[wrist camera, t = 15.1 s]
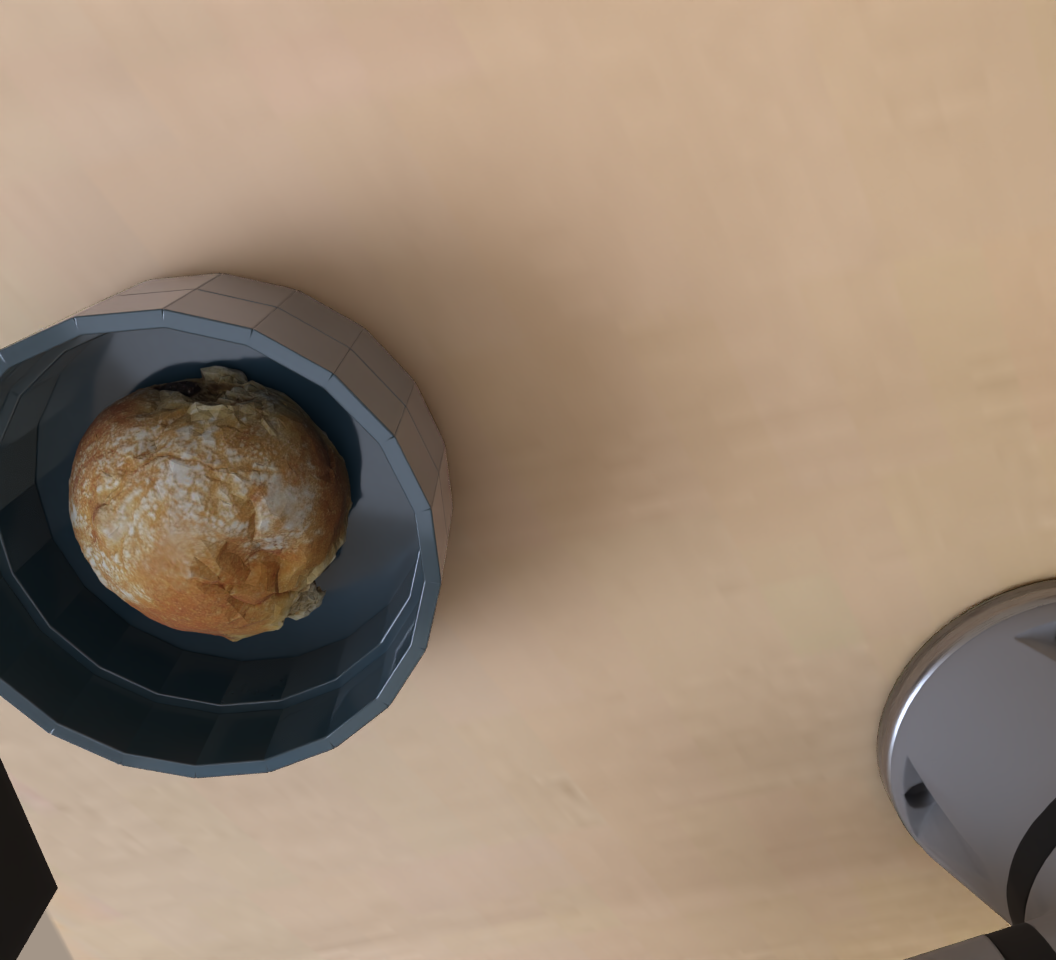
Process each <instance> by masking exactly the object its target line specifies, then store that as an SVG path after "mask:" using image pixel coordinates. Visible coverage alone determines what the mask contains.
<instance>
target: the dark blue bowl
mask: <svg viewBox="0 0 1056 960" xmlns="http://www.w3.org/2000/svg"><path fill="white" fill-rule="evenodd" d="M211 366H222V367H227V368H231V369H236V370H240V371H242V372H243V373H244V374H245V375H246V377H247V380H248V382H250V381H255V382H257V383H259V384H261V385H263V386H265V387H268V388H272V389H275V390H277V391H280V392H282V393H285V394H286V395H287V396H288V397H290V398H291V399H292V400H293V401H294V402H296V403H297V404H298V405H299V406H300V407H301V408H302V409H303V410H304V411H305V412H306V413H307V414H308V416H309V417H310V418H311V420H312V421H313V422H314V423H315V424H316V425H317V426H318V427H319V428H320V429H321V430H322V431H324V432H326V434H327V436H328V439H329V440H330V441H331V442H332V444H333V445H334V446H335V448H336V450H337V451H338V453H339V454H340V455H341V456H342V457H343V459H344V461H345V465H346V469H347V472H348V477H349V483H350V491H351V501H352V503H353V504H352V506H351V508H350V510H349V514H348V526H347V529H346V541H345V542H344V544H343V545H342V546H341V547H340V548H339V549H338V550H337V552H336V557H335V559H334V560H333V561H332V562H331V563H330V566H329V567H328V569H327V570H326V571H324V572H322V573H321V575H320V576H319V577H317V578H316V579H315V582H316V587H319V586H320V588H321V590H322V591H324V590H326V593H325V596H324V598H323V599H322V604H321V605H320V606H319V607H318V608H316V609H315V610H313V611H312V612H311V613H310V614H309V615H308V616H306V617H304V618H301V619H299V620H294V619H292V618H289V617H288V618H285V620H284V624H283V626H282V627H281V628H280V629H278V630H275V631H267V632H263V633H259V634H256V635H253V636H250V637H247V638H243V639H241V640H239V641H237V642H232V641H230V640H229V639H227V638H225V637H223V636H215V635H212V634H206V633H198V632H190V631H181V630H176V629H173V628H171V627H168V626H166V625H163V624H161V623H158V622H156V621H154V620H152V619H150V618H148V617H147V616H145V615H144V614H143V613H141V612H140V611H138V610H137V609H135V608H133V607H132V606H130V605H129V604H128V603H127V602H125V601H124V600H122V599H121V598H120V597H119V596H118V595H117V594H115V593H114V592H112V591H111V590H109V589H108V588H106V587H105V586H104V585H103V584H102V583H101V582H100V580H99V578H98V576H97V575H96V573H95V572H94V570H93V569H92V567H91V565H90V563H89V562H88V561H87V559H86V558H85V557H84V554H83V552H82V551H81V547H80V545H79V543H78V541H77V539H76V538H75V534H74V530H73V526H72V522H71V519H70V514H69V479H70V476H71V471H72V464H73V461H74V457H75V454H76V450H77V448H78V445H79V443H80V441H81V439H82V437H83V436H84V434H85V432H86V430H87V429H88V428H89V426H90V425H91V424H92V422H93V421H94V419H95V418H96V417H97V416H98V415H99V414H100V413H101V412H102V411H103V410H104V409H105V408H106V407H108V406H109V405H111V404H112V403H114V402H116V401H117V400H119V399H121V398H124V397H125V396H127V395H129V394H131V393H133V392H135V391H136V390H138V389H140V388H147V387H150V386H153V385H160V384H165V383H171V382H176V381H181V380H185V379H200V378H202V374H201V370H200V369H201V368H206V367H211ZM452 512H453V502H452V494H451V486H450V478H449V471H448V463H447V455H446V447H445V444H444V440H443V438H442V436H441V434H440V432H439V430H438V428H437V426H436V424H435V422H434V420H433V418H432V415H431V413H430V411H429V409H428V407H427V405H426V403H425V401H424V399H423V397H422V395H421V393H420V391H419V389H418V387H417V385H416V383H415V382H414V380H413V379H412V377H411V376H410V375H409V374H408V373H407V372H406V371H405V370H404V369H403V368H402V367H401V366H400V365H399V364H398V363H397V362H396V361H395V360H394V358H393V357H392V356H391V355H390V354H389V353H388V352H387V351H386V350H385V349H384V348H383V347H382V346H381V345H380V344H379V343H378V342H377V341H376V339H375V338H374V337H373V336H372V335H371V334H370V333H369V332H368V331H367V330H366V329H365V328H363V327H362V326H361V325H359V324H357V323H355V322H354V321H352V320H350V319H348V318H346V317H345V316H343V315H341V314H339V313H338V312H336V311H334V310H332V309H331V308H329V307H327V306H325V305H324V304H322V303H320V302H318V301H317V300H315V299H313V298H311V297H310V296H308V295H306V294H304V293H303V292H301V291H299V290H297V291H296V290H295V289H292V288H287V287H283V286H278V285H274V284H269V283H265V282H260V281H256V280H252V279H247V278H243V277H238V276H234V275H229V274H221V273H215V274H204V275H193V276H182V277H171V278H160V279H150V280H148V281H144V282H141V283H139V284H137V285H135V286H133V287H130V288H128V289H126V290H124V291H122V292H119V293H117V294H115V295H113V296H111V297H108V298H106V299H104V300H102V301H100V302H97V303H95V304H93V305H91V306H89V307H86V308H84V309H82V310H80V311H78V312H76V313H74V314H72V315H70V316H68V317H66V318H64V319H62V320H60V321H58V322H56V323H54V324H52V325H50V326H48V327H45V328H43V329H41V330H39V331H37V332H35V333H33V334H31V335H29V336H27V337H25V338H23V339H21V340H19V341H17V342H15V343H13V344H11V345H8V346H6V347H4V348H2V349H0V696H2V697H3V698H4V699H5V700H7V701H8V702H9V703H11V704H12V705H13V706H14V707H16V708H17V709H18V710H19V711H21V712H22V713H23V714H25V715H26V716H27V717H28V718H30V719H31V720H32V721H34V722H35V723H36V724H37V725H39V726H40V727H41V728H43V729H44V730H45V731H46V732H48V733H51V734H52V735H54V736H56V737H58V738H61V739H63V740H65V741H67V742H70V743H72V744H74V745H76V746H79V747H81V748H83V749H85V750H88V751H90V752H92V753H95V754H97V755H99V756H101V757H104V758H106V759H108V760H110V761H113V762H115V763H117V764H121V765H122V766H128V767H133V768H139V769H145V770H151V771H156V772H162V773H168V774H173V775H179V776H185V777H191V778H206V777H219V776H231V775H244V774H257V773H268V772H272V771H275V770H277V769H280V768H283V767H286V766H288V765H291V764H294V763H296V762H299V761H302V760H305V759H307V758H310V757H313V756H316V755H318V754H321V753H324V752H326V751H329V750H332V749H334V748H335V747H338V746H339V745H340V744H341V743H343V742H344V741H345V740H347V739H348V738H349V737H350V736H352V735H353V734H354V733H356V732H357V731H358V730H360V729H361V728H362V727H363V726H365V725H366V724H367V723H369V722H370V721H371V720H373V719H374V718H375V717H376V716H378V715H379V714H380V713H382V712H383V711H384V710H385V709H387V708H388V707H389V706H390V705H391V704H392V702H393V701H394V699H395V697H396V696H397V694H398V693H399V691H400V690H401V688H402V687H403V685H404V684H405V682H406V681H407V679H408V677H409V676H410V674H411V673H412V671H413V670H414V668H415V667H416V665H417V664H418V662H419V661H420V659H421V657H422V656H423V654H424V653H425V651H426V648H427V646H428V641H429V637H430V632H431V628H432V623H433V619H434V614H435V610H436V605H437V601H438V596H439V592H440V587H441V583H442V576H443V570H444V563H445V557H446V551H447V544H448V538H449V531H450V525H451V518H452Z"/></svg>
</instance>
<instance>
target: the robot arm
mask: <svg viewBox="0 0 1056 960" xmlns="http://www.w3.org/2000/svg"><path fill="white" fill-rule="evenodd" d="M877 759H878V767H879V772H880V777H881V779H882V782H883V785H884V788H885V790H886V792H887V795H888V797H889V799H890V801H891V803H892V804H893V806H894V808H895V810H896V812H897V814H898V816H899V818H900V819H901V821H902V823H903V825H904V826H905V828H906V829H907V831H908V832H909V834H910V835H911V836H912V837H913V839H914V840H915V841H916V842H917V843H918V844H919V845H920V846H921V847H922V848H923V849H924V851H925V852H926V853H927V854H928V855H929V856H930V857H931V858H932V859H934V860H935V861H936V862H937V863H938V864H939V865H941V866H942V867H943V868H944V869H945V870H947V871H948V872H949V873H950V874H951V875H952V876H954V877H955V878H956V879H957V880H958V881H960V882H961V883H962V884H963V885H964V886H965V887H967V888H968V889H969V890H970V891H971V892H972V893H974V894H975V895H976V896H977V897H978V898H980V899H981V900H982V901H983V902H984V903H985V904H987V905H988V906H989V907H990V908H991V909H993V910H994V911H995V912H996V913H997V914H998V915H1000V916H1001V917H1002V918H1003V919H1004V920H1006V921H1007V922H1008V923H1009V924H1010V925H1011V927H1008V928H1005V929H1002V930H999V931H995V932H992V933H989V934H985V935H980V936H977V937H974V938H970V939H967V940H964V941H961V942H958V943H955V944H952V945H948V946H945V947H942V948H939V949H936V950H933V951H930V952H927V953H923V954H920V955H917V956H914V957H911V958H908V959H905V960H1056V579H1055V580H1049V581H1044V582H1038V583H1035V584H1031V585H1027V586H1023V587H1020V588H1017V589H1014V590H1011V591H1008V592H1005V593H1003V594H1000V595H998V596H996V597H994V598H991V599H989V600H987V601H985V602H983V603H981V604H979V605H977V606H975V607H974V608H972V609H970V610H968V611H967V612H965V613H964V614H962V615H961V616H959V617H957V618H956V619H954V620H953V621H952V622H950V623H949V624H948V625H946V626H945V627H944V628H942V629H941V630H940V631H939V632H938V633H937V634H936V635H934V636H933V637H932V638H931V639H930V640H929V641H928V642H927V643H926V644H925V645H924V646H923V647H922V648H921V649H920V650H919V651H918V652H917V653H916V654H915V656H914V657H913V658H912V659H911V661H910V662H909V663H908V665H907V666H906V667H905V669H904V670H903V672H902V673H901V675H900V676H899V678H898V679H897V681H896V683H895V685H894V687H893V689H892V690H891V692H890V694H889V697H888V699H887V702H886V704H885V707H884V709H883V713H882V716H881V720H880V724H879V730H878V736H877ZM57 888H58V887H57V885H56V883H55V880H54V878H53V876H52V874H51V871H50V869H49V867H48V865H47V862H46V860H45V858H44V856H43V853H42V851H41V849H40V847H39V844H38V842H37V840H36V838H35V835H34V833H33V831H32V829H31V826H30V824H29V822H28V819H27V817H26V815H25V813H24V810H23V808H22V806H21V804H20V801H19V799H18V797H17V795H16V792H15V790H14V788H13V786H12V783H11V781H10V779H9V777H8V774H7V772H6V770H5V768H4V765H3V763H2V761H1V759H0V960H16V959H17V957H18V956H19V954H20V952H21V950H22V948H23V947H24V945H25V944H26V942H27V940H28V938H29V936H30V935H31V933H32V931H33V930H34V928H35V926H36V925H37V923H38V921H39V919H40V918H41V916H42V914H43V912H44V911H45V909H46V907H47V906H48V904H49V902H50V901H51V899H52V897H53V895H54V894H55V892H56V890H57Z"/></svg>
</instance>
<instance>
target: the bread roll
mask: <svg viewBox="0 0 1056 960" xmlns="http://www.w3.org/2000/svg"><path fill="white" fill-rule="evenodd" d="M200 370H201V374H202V378H200V379H185V380H181V381H176V382H171V383H165V384H160V385H153V386H150V387H147V388H140V389H138V390H136V391H135V392H133V393H131V394H129V395H127V396H125V397H124V398H121V399H119V400H117V401H116V402H114V403H112V404H111V405H109V406H108V407H106V408H105V409H104V410H103V411H102V412H101V413H100V414H99V415H98V416H97V417H96V418H95V419H94V421H93V422H92V424H91V425H90V426H89V428H88V429H87V430H86V432H85V434H84V436H83V437H82V439H81V441H80V443H79V445H78V448H77V450H76V454H75V457H74V461H73V464H72V471H71V476H70V479H69V514H70V519H71V522H72V526H73V530H74V534H75V538H76V539H77V541H78V543H79V545H80V547H81V551H82V552H83V554H84V557H85V558H86V559H87V561H88V562H89V563H90V565H91V567H92V569H93V570H94V572H95V573H96V575H97V576H98V578H99V580H100V582H101V583H102V584H103V585H104V586H105V587H106V588H108V589H109V590H111V591H112V592H114V593H115V594H117V595H118V596H119V597H120V598H121V599H122V600H124V601H125V602H127V603H128V604H129V605H130V606H132V607H133V608H135V609H137V610H138V611H140V612H141V613H143V614H144V615H145V616H147V617H148V618H150V619H152V620H154V621H156V622H158V623H161V624H163V625H166V626H168V627H171V628H173V629H176V630H181V631H190V632H198V633H206V634H212V635H215V636H223V637H225V638H227V639H229V640H230V641H232V642H237V641H239V640H241V639H243V638H247V637H250V636H253V635H256V634H259V633H263V632H267V631H275V630H278V629H280V628H281V627H282V626H283V624H284V620H285V618H288V617H289V618H292V619H294V620H299V619H301V618H304V617H306V616H308V615H309V614H310V613H311V612H312V611H313V610H315V609H316V608H318V607H319V606H320V605H321V604H322V599H323V598H324V596H325V593H326V590H324V591H322V590H321V588H320V586H319V587H316V582H315V579H316V578H317V577H319V576H320V575H321V573H322V572H324V571H326V570H327V569H328V567H329V566H330V563H331V562H332V561H333V560H334V559H335V557H336V552H337V550H338V549H339V548H340V547H341V546H342V545H343V544H344V542H345V541H346V529H347V526H348V514H349V510H350V508H351V506H352V504H353V503H352V501H351V491H350V483H349V477H348V472H347V469H346V465H345V461H344V459H343V457H342V456H341V455H340V454H339V453H338V451H337V450H336V448H335V446H334V445H333V444H332V442H331V441H330V440H329V439H328V436H327V434H326V432H324V431H322V430H321V429H320V428H319V427H318V426H317V425H316V424H315V423H314V422H313V421H312V420H311V418H310V417H309V416H308V414H307V413H306V412H305V411H304V410H303V409H302V408H301V407H300V406H299V405H298V404H297V403H296V402H294V401H293V400H292V399H291V398H290V397H288V396H287V395H286V394H285V393H282V392H280V391H277V390H275V389H272V388H268V387H265V386H263V385H261V384H259V383H257V382H255V381H250V382H248V380H247V377H246V375H245V374H244V373H243V372H242V371H240V370H236V369H231V368H227V367H222V366H211V367H206V368H201V369H200Z"/></svg>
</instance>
